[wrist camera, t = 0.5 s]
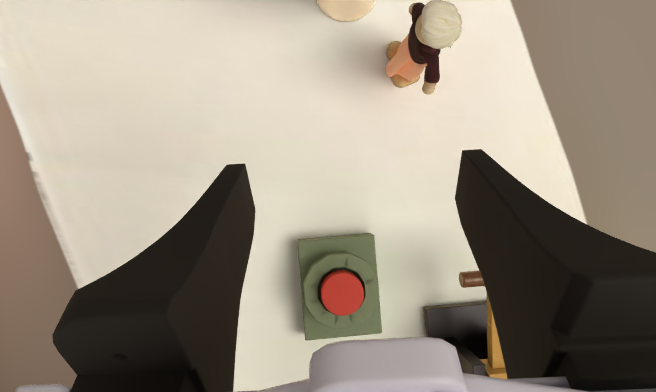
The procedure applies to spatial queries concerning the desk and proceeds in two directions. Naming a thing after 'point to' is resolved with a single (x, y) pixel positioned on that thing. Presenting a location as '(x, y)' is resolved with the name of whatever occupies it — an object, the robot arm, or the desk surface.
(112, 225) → the desk surface
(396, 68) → the grandmother figurine
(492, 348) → the lever
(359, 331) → the button block
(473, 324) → the bracket
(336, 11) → the beer glass
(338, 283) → the button
